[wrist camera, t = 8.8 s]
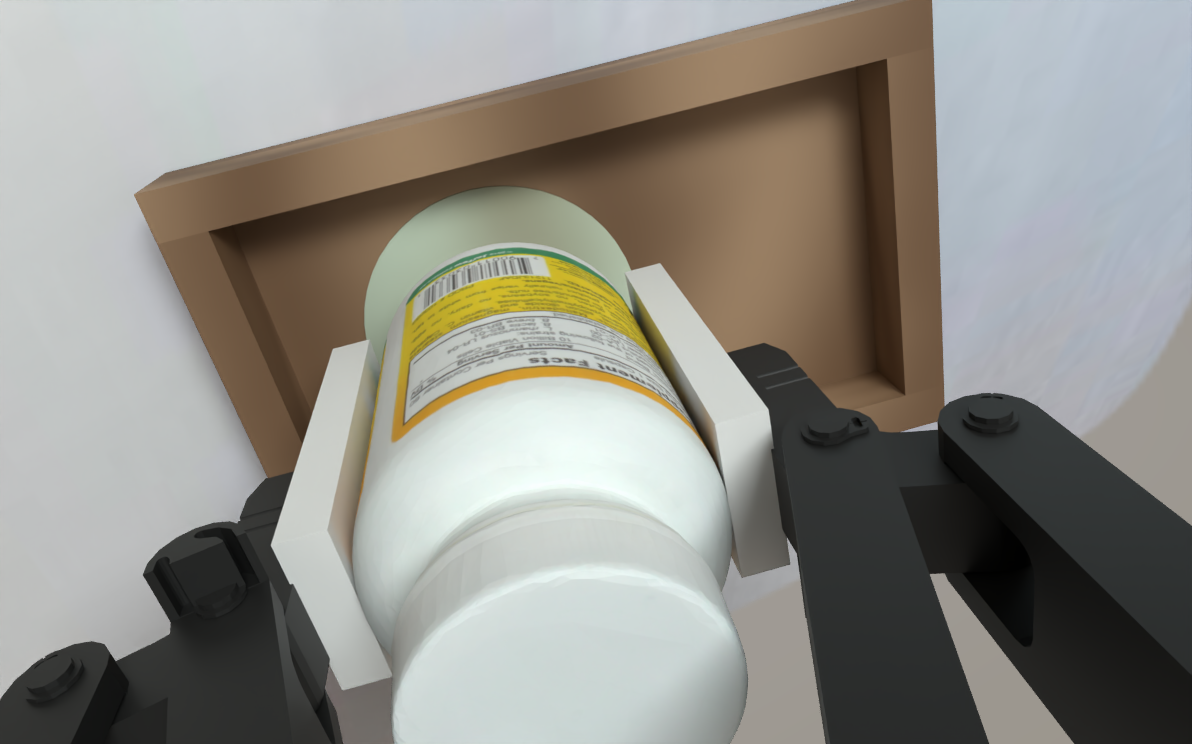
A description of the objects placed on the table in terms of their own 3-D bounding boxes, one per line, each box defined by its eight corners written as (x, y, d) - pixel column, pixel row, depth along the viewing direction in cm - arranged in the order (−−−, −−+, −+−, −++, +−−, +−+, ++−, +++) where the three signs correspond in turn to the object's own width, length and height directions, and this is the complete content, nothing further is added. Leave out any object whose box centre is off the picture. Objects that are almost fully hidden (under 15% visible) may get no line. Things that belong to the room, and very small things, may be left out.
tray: (332, 543, 22) (322, 592, 20) (165, 173, 18) (133, 194, 16) (905, 384, 23) (944, 419, 21) (884, -7, 18) (931, -6, 17)
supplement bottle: (465, 185, 16) (490, 419, 7) (685, 315, 18) (906, 619, 9) (336, 406, 18) (234, 813, 9) (552, 504, 19) (640, 918, 11)
